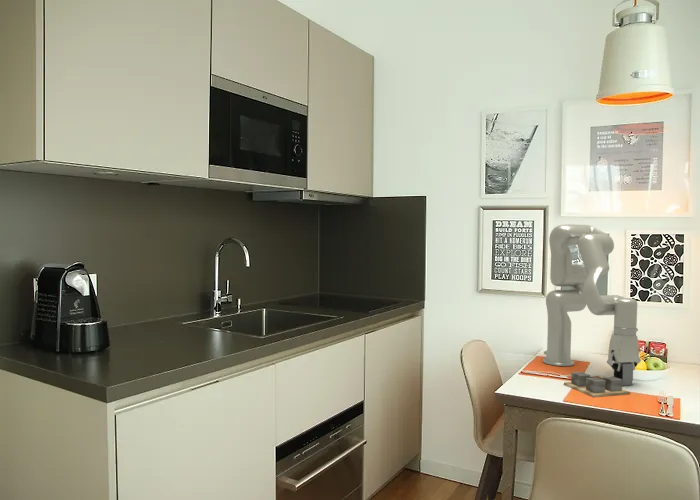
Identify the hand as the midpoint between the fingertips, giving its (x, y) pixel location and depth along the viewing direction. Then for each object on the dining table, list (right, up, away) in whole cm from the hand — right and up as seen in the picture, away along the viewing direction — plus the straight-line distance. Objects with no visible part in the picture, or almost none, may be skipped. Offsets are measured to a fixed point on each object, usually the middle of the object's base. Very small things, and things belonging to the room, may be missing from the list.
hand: (623, 380), depth 210 cm
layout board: (-13, -2, -7) cm, 15 cm away
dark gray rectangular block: (0, -1, 0) cm, 1 cm away
